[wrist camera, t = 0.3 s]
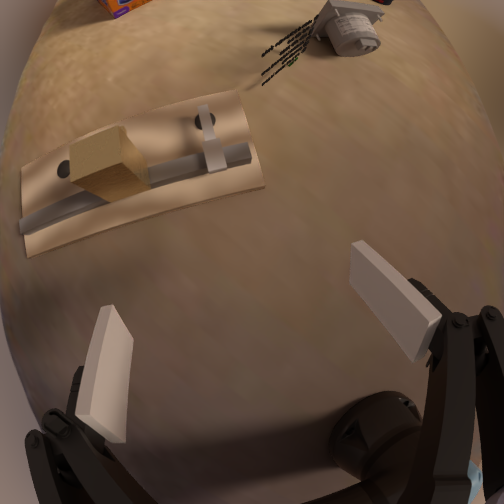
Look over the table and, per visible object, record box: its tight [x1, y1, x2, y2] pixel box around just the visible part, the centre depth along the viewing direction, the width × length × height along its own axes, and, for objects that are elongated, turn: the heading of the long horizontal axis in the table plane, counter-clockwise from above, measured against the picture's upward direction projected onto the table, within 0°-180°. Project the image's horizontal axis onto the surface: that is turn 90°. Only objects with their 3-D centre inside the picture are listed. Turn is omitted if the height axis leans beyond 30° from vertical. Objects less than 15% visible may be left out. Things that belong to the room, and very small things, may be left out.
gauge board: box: [19, 89, 266, 258], centre depth 29 cm, size 14×34×4 cm, turn 104°
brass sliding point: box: [69, 125, 151, 203], centre depth 24 cm, size 8×5×11 cm, turn 14°
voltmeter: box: [261, 0, 385, 86], centre depth 29 cm, size 27×11×10 cm, turn 142°
